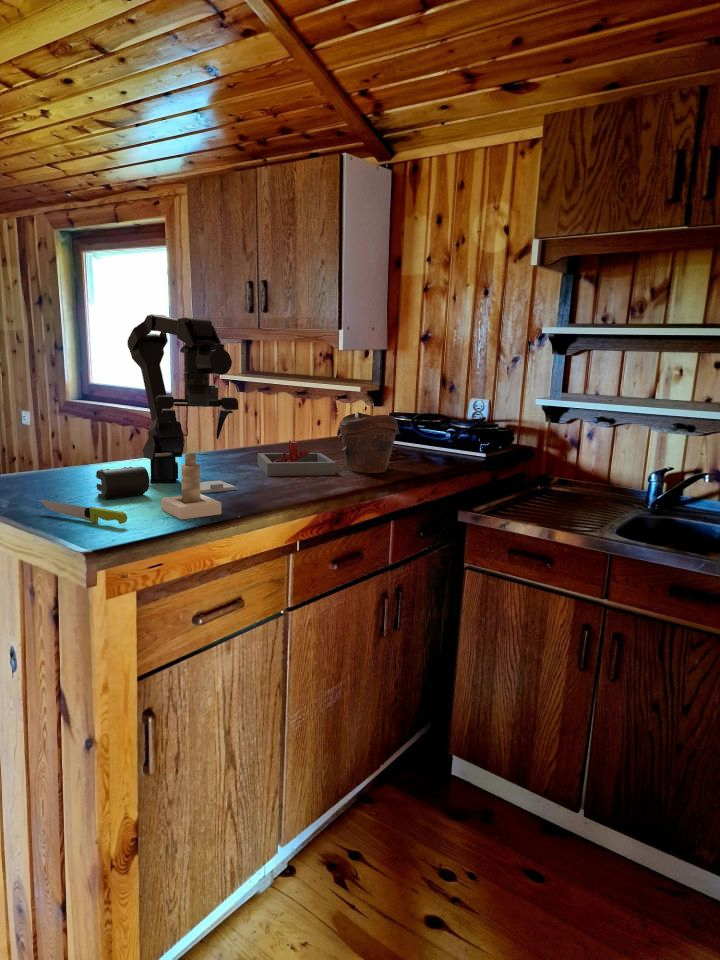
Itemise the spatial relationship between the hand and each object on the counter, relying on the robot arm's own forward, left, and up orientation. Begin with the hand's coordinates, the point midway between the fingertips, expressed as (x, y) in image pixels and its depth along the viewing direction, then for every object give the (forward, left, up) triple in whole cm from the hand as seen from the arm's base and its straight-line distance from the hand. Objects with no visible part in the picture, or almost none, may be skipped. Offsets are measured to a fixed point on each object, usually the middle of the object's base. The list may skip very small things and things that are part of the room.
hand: (197, 438), depth 150 cm
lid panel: (+3, +4, -13) cm, 14 cm away
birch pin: (-3, -20, -13) cm, 24 cm away
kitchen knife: (-24, -24, -13) cm, 36 cm away
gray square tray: (+30, +29, -13) cm, 44 cm away
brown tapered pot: (+52, +28, -13) cm, 61 cm away
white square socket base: (-3, -20, -13) cm, 24 cm away
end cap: (-17, -3, -13) cm, 22 cm away
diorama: (+28, +29, -13) cm, 42 cm away
